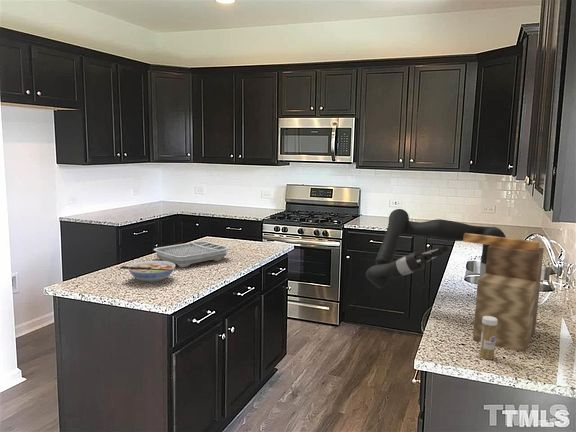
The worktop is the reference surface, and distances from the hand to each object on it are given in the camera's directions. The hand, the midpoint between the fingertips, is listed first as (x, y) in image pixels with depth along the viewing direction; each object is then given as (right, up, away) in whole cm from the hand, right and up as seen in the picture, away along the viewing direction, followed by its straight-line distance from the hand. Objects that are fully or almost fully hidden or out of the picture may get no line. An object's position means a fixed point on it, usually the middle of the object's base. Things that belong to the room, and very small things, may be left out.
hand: (444, 249), depth 190 cm
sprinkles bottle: (+2, -33, -34) cm, 48 cm away
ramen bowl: (-130, -19, +44) cm, 138 cm away
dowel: (+17, +2, -12) cm, 21 cm away
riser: (+17, -30, -15) cm, 38 cm away
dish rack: (-119, -13, +87) cm, 148 cm away
